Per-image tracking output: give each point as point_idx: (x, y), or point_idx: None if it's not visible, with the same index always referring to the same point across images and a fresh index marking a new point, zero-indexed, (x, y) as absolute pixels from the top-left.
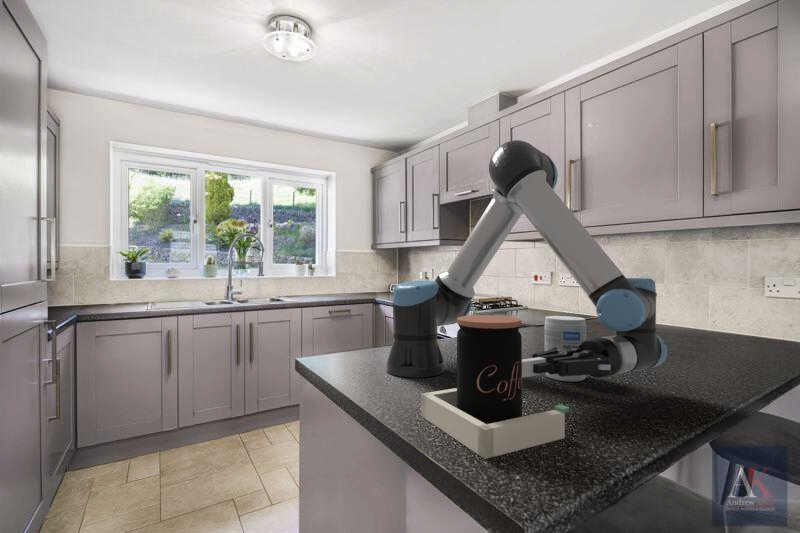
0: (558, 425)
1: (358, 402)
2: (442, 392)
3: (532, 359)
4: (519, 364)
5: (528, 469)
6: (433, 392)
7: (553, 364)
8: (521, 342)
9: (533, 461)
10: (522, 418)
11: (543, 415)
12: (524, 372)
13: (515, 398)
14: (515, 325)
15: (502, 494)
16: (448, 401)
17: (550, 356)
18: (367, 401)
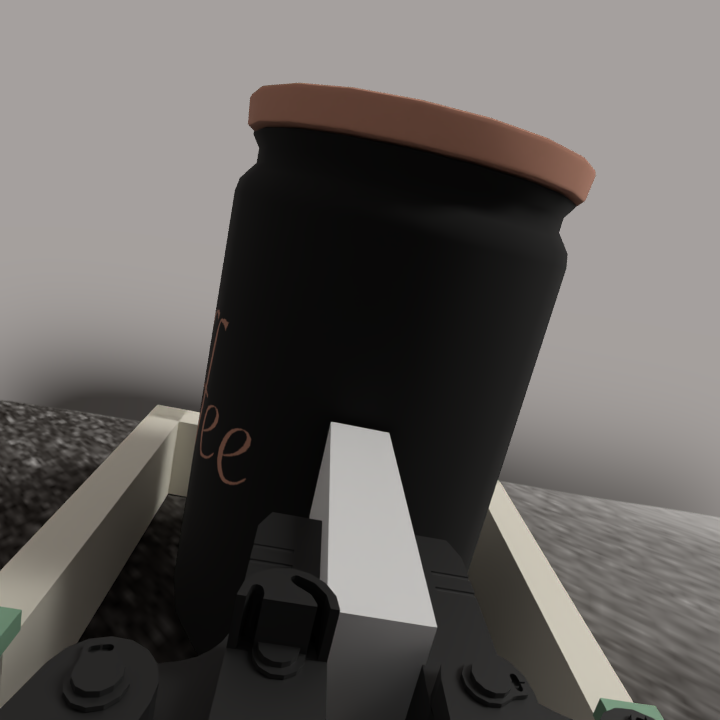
0: None
1: (604, 500)
2: (492, 501)
3: (363, 508)
4: (218, 334)
5: (18, 491)
6: (497, 489)
7: (206, 659)
8: (263, 233)
9: (21, 523)
10: (115, 483)
11: (47, 540)
12: (314, 516)
13: (191, 466)
14: (251, 113)
15: (35, 421)
16: (480, 543)
17: (271, 575)
18: (613, 513)
